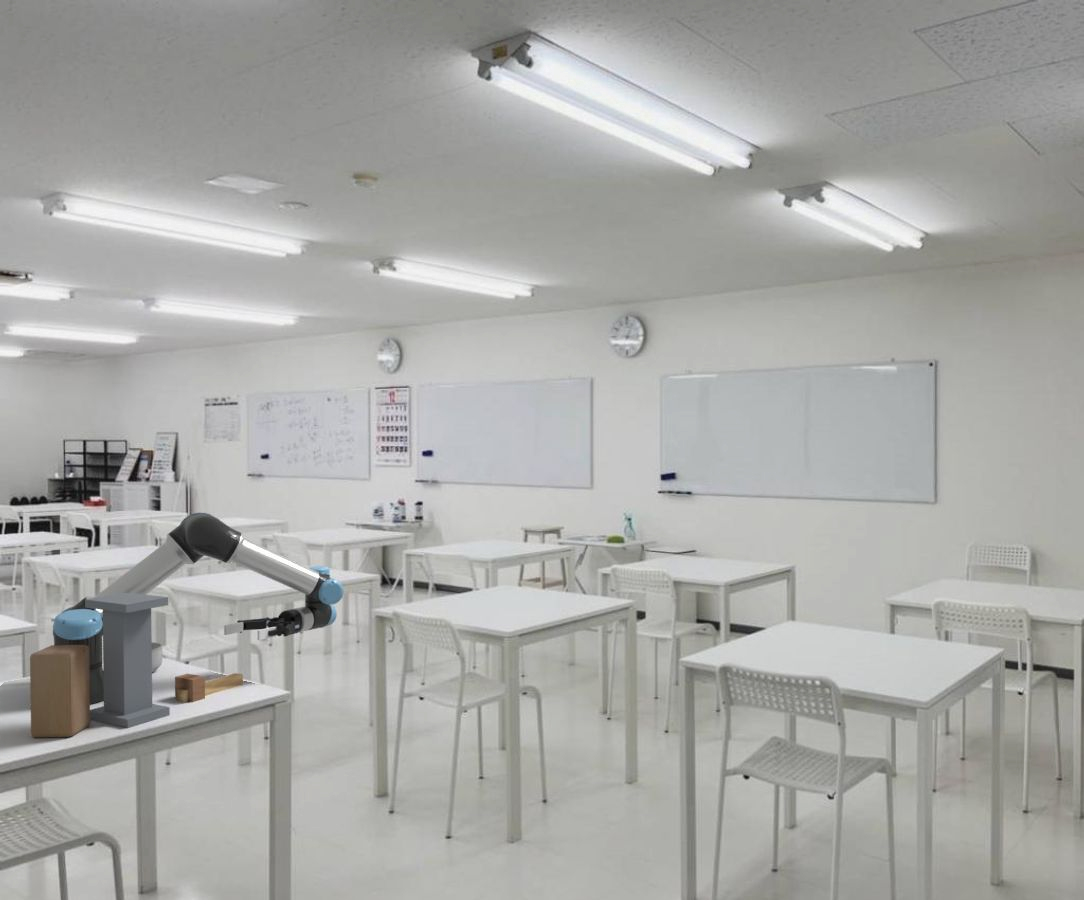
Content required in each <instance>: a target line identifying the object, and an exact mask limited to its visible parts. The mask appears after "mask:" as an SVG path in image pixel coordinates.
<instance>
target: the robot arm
mask: <svg viewBox="0 0 1084 900" xmlns="http://www.w3.org/2000/svg"><path fill="white" fill-rule="evenodd" d="M204 557H208V558H212V559H214V560H217V561H220V562H222V563H225V564H229V563H231V562H232V563H234V564H236V565H239V566H242V567H243V568H245V569H248V570H250V571H252V572H254V573H256V574H259V575H261V576H263V577H266V578H268V579H270V580H273V581H275V582H278V583H279V584H282V585H284V586H287V587H289V588H291V589H293V590H296V591H297V592H300V593H303V594H304V606H302V607H301V606H299V607H296V608H293V609H292V608H291V609H287V610H286V609H285V610H283V611H282V612H280V613H279V615H278V617H276V616H275V617H271V618H270V617H267V616H266V617H262V618H253V619H244V620H242V619H241V620H240V619H239V620H237V621H236V623H230V624H226V625H224V626H223V629H224V630H223V631H224V632H223V635H225V636H228V635H232V634H237V633H239V634H240V633H241V634H242V633H243V632H244V631H252V630H253V631H255V630H257V641H262V640H267V639H270V638H271V639H272V638H273V637H277V636H278V637H281V636H283V637H288V636H291V635H294V634H298V633H300V634H301V635H302V634H303V633H304V632H307V631H311V630H316V629H323V628H325V627H328V626H330V625H332V624H333V623H334V622H335V621H336V618H337V613H338V612H337V609H336V607H335V604H338V603H339V602H340V601H342V598H343V596H344V587H343V584H341V582H340V581H339V580H337V579H334V578H332V577H331V574H330V573H331V572H330V568H329V567H328V566H318V565H317V566H310V567H309V566H308V567H307V566H306V565H303V564H301V563H300V562H297V561H294V560H293V559H291V558H288V557H286V556H283V555H281V554H279V553H278V552H275V551H273V550H271V549H268V548H267V547H264V546H262V545H260V544H258V543H256V542H253V541H251V540H249V539H248V538H247V539H246V538H245V537H244V535H243V533H242V532H240V531H238V530H236V529H234V528H232V527H231V526H228V525H227V524H226V523H224V522H223V521H222V520H220V519H219V518H217V517H215V516H214V515H212V514H211V513H207V512H195V513H192V514H189V515H187V516H185V518H183V520H181V522H180V524H179V525H178V526H176V527H175V528H174V529H172V530H171V531H170V532H169V533H167V535H166V540H165V542H164V543H163V544H161V545H160V546H159V547H157V549H154V550H153V552H151V553H149V554H148V555H147V556H145V558H144V559H142V560H141V561H139V562H138V563H137V564H136V565H134V566H133V567H131V568H130V569H129V570H127V571H126V572H125V573H124V574H122V575H121V576H120V577H118V578H117V579H116V580H115V581H114V582H113V581H112V583H111V584H110V585H108V586H107V587H106V588H104V589H103V590H102V591H101V592H99V593H98V594H97V595H94V596H88V595H87V596H85V597H84V598H82V599H81V600H80V601H79V602H77V603H76V604H75V605H73V606H71V607H68V608H65V610H63V611H61V612H60V613H59V614H57V615H56V616H55V618H54V620H53V625H52V635H53V645H86V646H88V647H89V679H90V705H92V704H96V703H99V702H100V703H101V702H104V679H103V610H100V609H92V608H85V600H86V599H92V598H98V597H104V596H110V595H116V594H122V593H135V594H144V595H149V593H150V592H152V591H153V590H154V589H155V588H156V587H158V586H159V585H161V584H162V583H163V582H164V581H165V580H167V579H168V578H169V577H170V576H173V574H174V573H176V572H177V571H179V569H181V568H182V567H183V566H184V565H194V564H195V563H197V562H198V561H199V560H200V559H202V558H204Z"/></svg>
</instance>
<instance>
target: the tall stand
mask: <svg viewBox="0 0 1084 900" xmlns="http://www.w3.org/2000/svg"><path fill="white" fill-rule="evenodd" d="M165 606H169V597H168V596H161V595H153V594H152V595H151V594H146V595H144V594H135V593H122V594H116V595H110V596H104V597H98V598H92V599H86V600H85V608H92V609H100V610H103V636H102V667H103V679H104V700H103V705H102V706H99V707H96V708H90V721H96V722H101V723H104V724H109V725H113V726H117V727H122V728H127V729H129V728H132V727H135V726H139V725H142V724H145V723H149V722H153V721H155V720H158V719H161V718H164V717H167V716H170V714H171V712H170V711H171V710H170V709H171V708H170V706H167V705H161V704H157V703H153V672H152V642H153V641H152V640H153V639H152V609H155V608H160V607H165Z"/></svg>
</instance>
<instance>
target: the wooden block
mask: <svg viewBox="0 0 1084 900" xmlns="http://www.w3.org/2000/svg"><path fill="white" fill-rule="evenodd" d="M29 670H30V673H29V676H30V678H29V679H30V685H29V686H30V688H29V689H30V735H31V737H32V738H37V739H38V738H70V737H73V736H75V735H77V734H78V733H79V732H81V731H83V730H84V729H86V728H87V727H88V726H89V725H90V724H91V720H90V710H91V704H90V679H89V647H88V646H86V645H54V644H53V645H49V646H47V647H45V648H43V649H40V650H37V651H36V652H33V653H31V655H30V656H29Z"/></svg>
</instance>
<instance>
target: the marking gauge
mask: <svg viewBox="0 0 1084 900" xmlns="http://www.w3.org/2000/svg"><path fill="white" fill-rule="evenodd" d="M243 677H244V675H243V674H241V673H236V672H234V673H231V674H228V675H225V676H220V677H217V678H213V679H210V680H206V677H205V676H204V675H203V676H202V675H197V674H191V673H184V674H181V675H177V676H175V677H174V696H175V697H174V698H175V699H176V701H178V702H182V703H186V702H191V703H195V702H197V701H202V700H205V699H206V697H207V696H209V695H213V694H216V693H219V692H222V691H226V690H230V689H232V688H235V687H240V686H243V685H244V684H243V683H244V681H243V680H244V678H243Z"/></svg>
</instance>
